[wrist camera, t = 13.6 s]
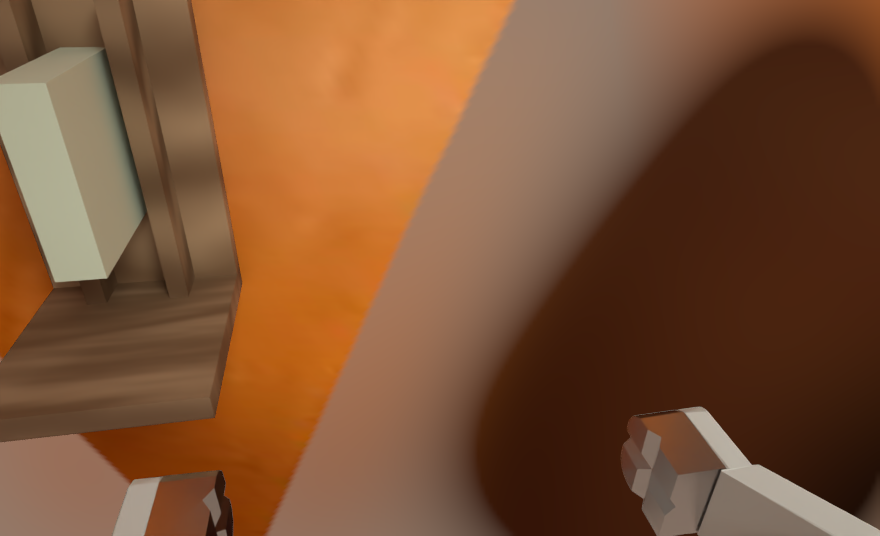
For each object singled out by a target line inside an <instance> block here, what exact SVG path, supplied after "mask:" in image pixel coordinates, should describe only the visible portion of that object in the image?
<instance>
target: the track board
mask: <svg viewBox="0 0 880 536" xmlns="http://www.w3.org/2000/svg"><path fill="white" fill-rule="evenodd" d="M60 47H105V49H106V53H107V56H108V60H109V64H110V68H111V72H112V76H113V80H114V84H115V88H116V91H117V95H118V99H119V103H120V107H121V111H122V115H123V119H124V122H125V126H126V130H127V134H128V138H129V142H130V146H131V150H132V154H133V157H134V161H135V165H136V169H137V173H138V177H139V181H140V185H141V188H142V192H143V196H144V200H145V204H146V208H147V212H146V214H145V215H144V217H143V219H142V220H141V222H140V224H139V225H138V227H137V229H136V231H135V232H134V234H133V236H132V237H131V239H130V241H129V242H128V244H127V246H126V248H125V249H124V251H123V253H122V254H121V256H120V258H119V259H118V261H117V263H116V265H115V266H114V268H113V270H112V271H111V273H110V275H109V276H108V278H107V279H93V280H80V281H66V282H55V280H54V278H53V275H52V272H51V270H50V267H49V264H48V261H47V259H46V256H45V253H44V251H43V248H42V245H41V243H40V240H39V237H38V234H37V232H36V229H35V226H34V224H33V221H32V218H31V215H30V213H29V210H28V207H27V205H26V202H25V199H24V197H23V194H22V191H21V188H20V186H19V183H18V180H17V178H16V175H15V172H14V169H13V167H12V164H11V161H10V159H9V156H8V153H7V150H6V148H5V145H4V142H3V140H2V137H1V134H0V145H1V148H2V151H3V153H4V156H5V159H6V161H7V164H8V167H9V169H10V172H11V175H12V177H13V180H14V183H15V185H16V188H17V191H18V193H19V196H20V199H21V201H22V204H23V207H24V210H25V212H26V215H27V218H28V220H29V223H30V226H31V228H32V231H33V234H34V236H35V239H36V242H37V244H38V247H39V250H40V252H41V255H42V258H43V260H44V263H45V266H46V269H47V271H48V274H49V277H50V279H51V282H52V285H53V287H54V289H53V290H52V292H51V293H50V294H49V296H48V297H47V299H46V300H45V301H44V303H43V304H42V305H41V307H40V308H39V310H38V311H37V312H36V314H35V315H34V317H33V318H32V319H31V321H30V322H29V324H28V325H27V326H26V328H25V329H24V330H23V332H22V333H21V335H20V336H19V337H18V339H17V340H16V342H15V343H14V344H13V346H12V347H11V349H10V350H9V351H8V353H7V354H6V355H5V357H4V358H3V360H2V361H1V362H0V442H6V441H15V440H23V439H32V438H41V437H50V436H59V435H68V434H77V433H86V432H94V431H103V430H112V429H121V428H129V427H138V426H147V425H156V424H165V423H173V422H182V421H191V420H200V419H208V418H215V414H216V409H217V405H218V400H219V395H220V390H221V385H222V380H223V375H224V370H225V365H226V360H227V355H228V351H229V346H230V341H231V336H232V331H233V326H234V321H235V316H236V311H237V306H238V302H239V297H240V292H241V287H242V280H241V274H240V269H239V263H238V258H237V252H236V247H235V241H234V236H233V230H232V224H231V219H230V213H229V208H228V202H227V197H226V191H225V186H224V180H223V175H222V169H221V164H220V158H219V153H218V147H217V141H216V136H215V130H214V125H213V119H212V114H211V108H210V103H209V97H208V92H207V86H206V81H205V75H204V69H203V64H202V58H201V53H200V47H199V42H198V36H197V31H196V25H195V20H194V14H193V9H192V3H191V0H0V76H1V75H3V74H5V73H7V72H9V71H12V70H14V69H16V68H18V67H20V66H22V65H24V64H26V63H28V62H30V61H32V60H35V59H37V58H39V57H41V56H43V55H45V54H47V53H49V52H51V51H53V50H55V49H58V48H60Z"/></svg>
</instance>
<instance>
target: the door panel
mask: <svg viewBox="0 0 880 536" xmlns="http://www.w3.org/2000/svg"><path fill="white" fill-rule="evenodd" d="M0 134H1V137H2V140H3V142H4V145H5V148H6V150H7V153H8V156H9V159H10V161H11V164H12V167H13V169H14V172H15V175H16V178H17V180H18V183H19V186H20V188H21V191H22V194H23V197H24V199H25V202H26V205H27V207H28V210H29V213H30V215H31V218H32V221H33V224H34V226H35V229H36V232H37V234H38V237H39V240H40V243H41V245H42V248H43V251H44V253H45V256H46V259H47V261H48V264H49V267H50V270H51V272H52V275H53V278H54V280H55V282H66V281H80V280H93V279H107V278H108V276H109V275H110V273H111V271H112V270H113V268H114V266H115V265H116V263H117V261H118V259H119V258H120V256H121V254H122V253H123V251H124V249H125V248H126V246H127V244H128V242H129V241H130V239H131V237H132V236H133V234H134V232H135V231H136V229H137V227H138V225H139V224H140V222H141V220H142V219H143V217H144V215H145V214H146V212H147V208H146V204H145V200H144V196H143V192H142V188H141V185H140V181H139V177H138V173H137V169H136V165H135V161H134V157H133V154H132V150H131V146H130V142H129V138H128V134H127V130H126V126H125V122H124V119H123V115H122V111H121V107H120V103H119V99H118V95H117V91H116V88H115V84H114V80H113V76H112V72H111V68H110V64H109V60H108V56H107V53H106V49H105V47H60V48H58V49H55V50H53V51H51V52H49V53H47V54H45V55H43V56H41V57H39V58H37V59H35V60H32V61H30V62H28V63H26V64H24V65H22V66H20V67H18V68H16V69H14V70H12V71H9V72H7V73H5V74H3V75H1V76H0Z"/></svg>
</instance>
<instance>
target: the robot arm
mask: <svg viewBox="0 0 880 536" xmlns="http://www.w3.org/2000/svg"><path fill="white" fill-rule="evenodd" d="M627 431H628V432H629V434H630V436H631V437H630V439H628V440H627V442H626V443H625V444H624V445H623V448H622V454H621V463H622V470H623V473H624V476H625V479H626V481H627V483H628V485H629V487H630V489H631V491H633V492H634V493H636V494H637V495H639V496H641V497H642V498H643V499H644V501H643V506H642V510H643V512H644V513H645V515H646V517H647V519H648V521H649V522H650V524H651V526H652V527H653V529H654V531H655V533H656V535H657V536H674V535H681V534H689V533H696V532H698V535H699V536H880V530H878V529H876V528H875V527H873V526H871V525H869V524H867V523H865V522H863V521H862V520H860V519H858V518H856V517H854V516H852V515H851V514H849V513H847V512H845V511H843V510H841V509H840V508H838V507H836V506H834V505H832V504H830V503H828V502H826V501H825V500H823V499H821V498H819V497H817V496H816V495H814V494H812V493H810V492H808V491H806V490H804V489H803V488H800V487H799V486H797V485H795V484H793V483H791V482H790V481H788V480H786V479H784V478H782V477H780V476H779V475H777V474H775V473H773V472H771V471H770V470H768V469H766V468H764V467H762V466H760V465H751V464H750V462H749V461H748V460H747V459H746V458H745V456H744V455H743V454H742V453H741V451H740V450H739V449H738V448H737V447H736V445H735V444H734V443H733V442H732V441H731V439H730V438H729V437H728V436H727V434H726V433H725V432H724V431H723V429H721V427H720V426H719V425H718V423H717V422H716V421H715V420H714V419H713V418H712V416H711V415H710V414H709V412H708V411H707V410H705V409H704V408H702V407H694V408H687V409H679V410H670V411H663V412H656V413H650V414H642V415H636V416H633V417H632V418H631V419H630V420H629V423H628V427H627ZM225 484H226V482H225V479H224V476H223V472H222V471H220V470H216V471H206V472H197V473H187V474H178V475H168V476H163V477H153V478H144V479H135V480H133V482H132V483H131V484H130V486H129V487H128V489H127V492H126V495H125V498H124V501H123V504H122V507H121V510H120V512H119V516H118V518H117V522H116V524H115V527H114V530H113V533H112V536H233V514H232V507H231V503H230V499H228V498H227V497H225V496H224V491H225Z"/></svg>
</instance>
